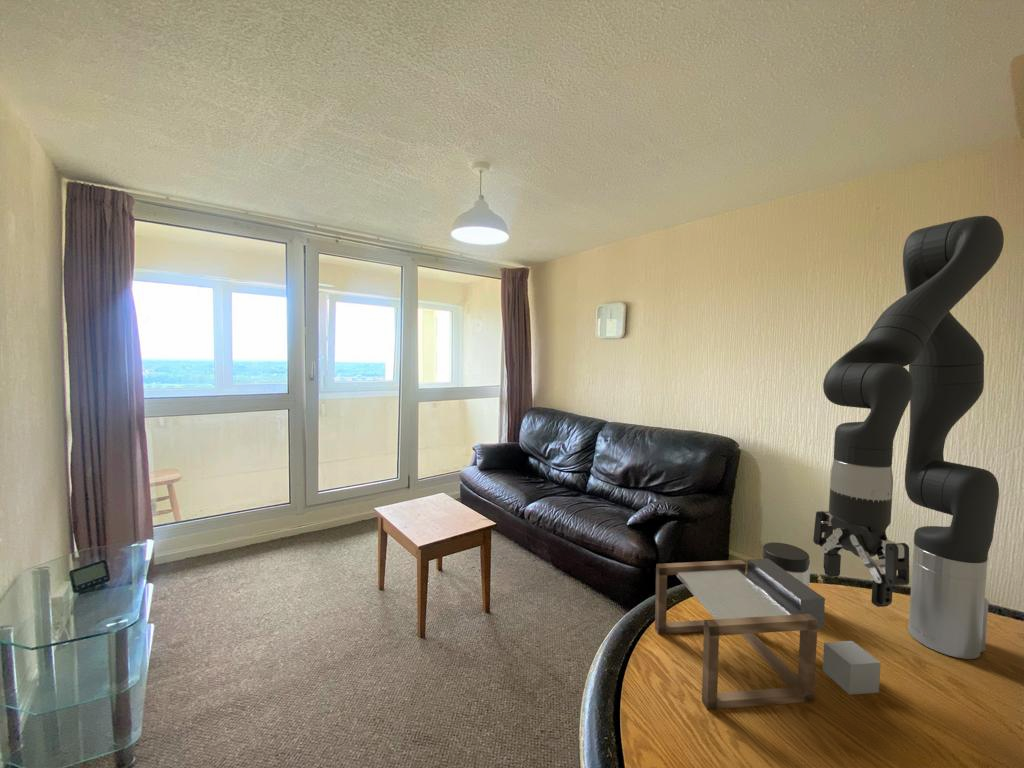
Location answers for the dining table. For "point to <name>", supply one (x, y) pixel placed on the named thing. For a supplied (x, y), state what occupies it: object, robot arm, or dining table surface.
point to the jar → (789, 560)
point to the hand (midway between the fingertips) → (854, 589)
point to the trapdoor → (753, 592)
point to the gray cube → (851, 667)
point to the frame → (804, 623)
